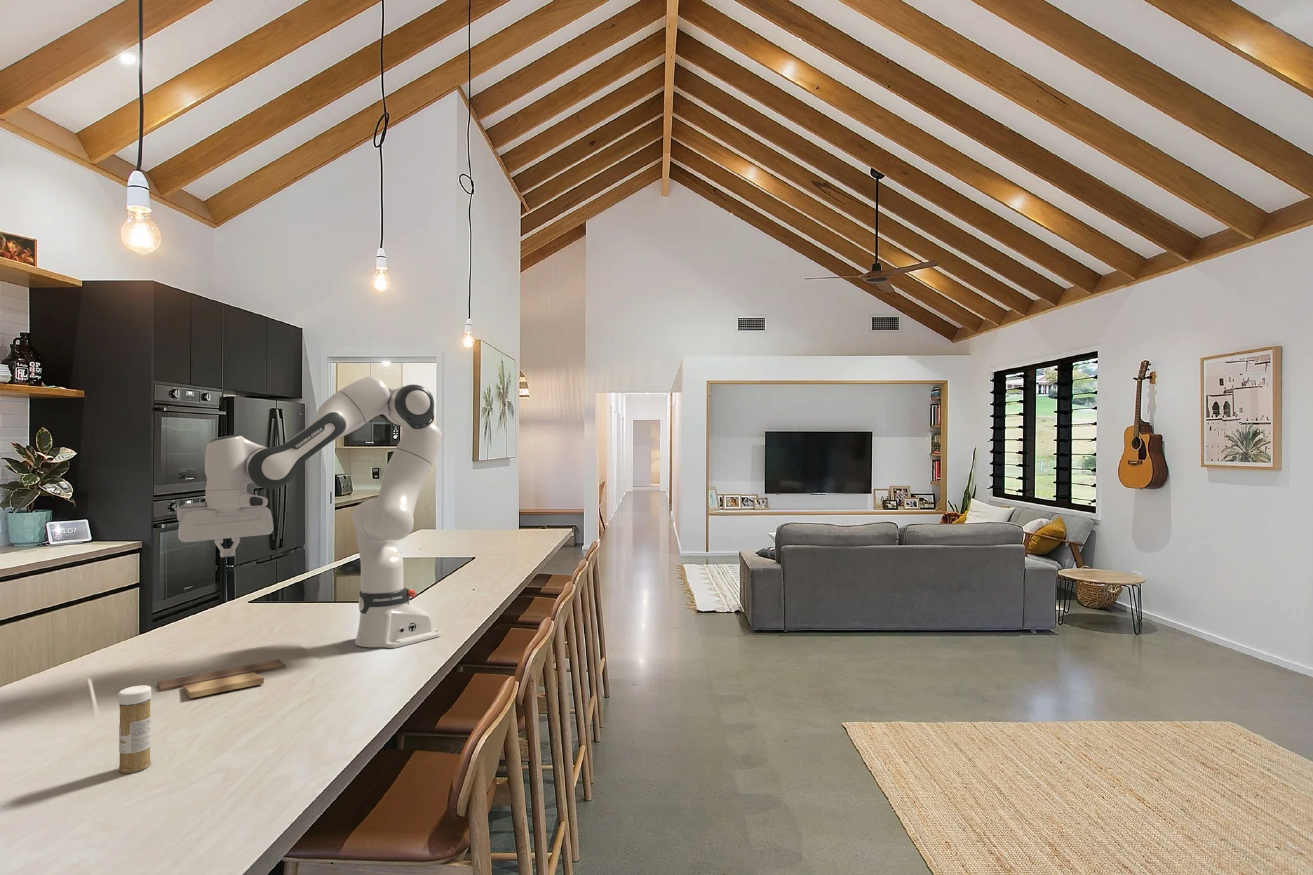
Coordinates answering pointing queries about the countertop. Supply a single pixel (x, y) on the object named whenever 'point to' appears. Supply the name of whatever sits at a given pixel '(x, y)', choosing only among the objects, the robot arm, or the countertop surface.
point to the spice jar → (134, 728)
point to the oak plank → (222, 684)
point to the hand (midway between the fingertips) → (227, 556)
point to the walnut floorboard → (219, 674)
